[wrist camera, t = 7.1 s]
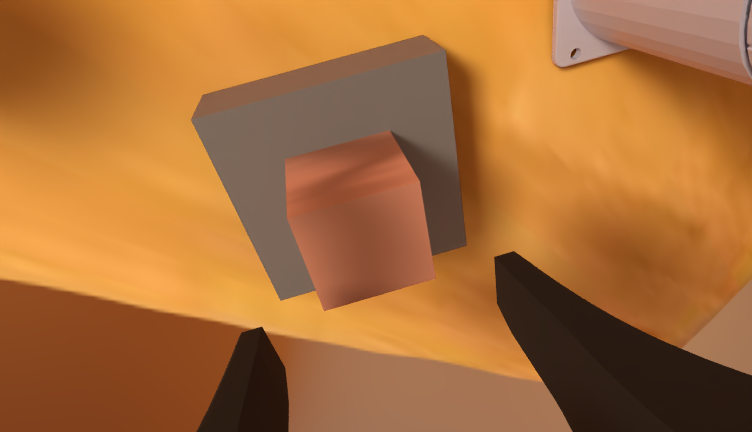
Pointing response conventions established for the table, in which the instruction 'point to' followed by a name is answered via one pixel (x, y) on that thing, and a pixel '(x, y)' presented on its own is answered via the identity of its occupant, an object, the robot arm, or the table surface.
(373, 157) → the cube
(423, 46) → the base block
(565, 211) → the table surface
